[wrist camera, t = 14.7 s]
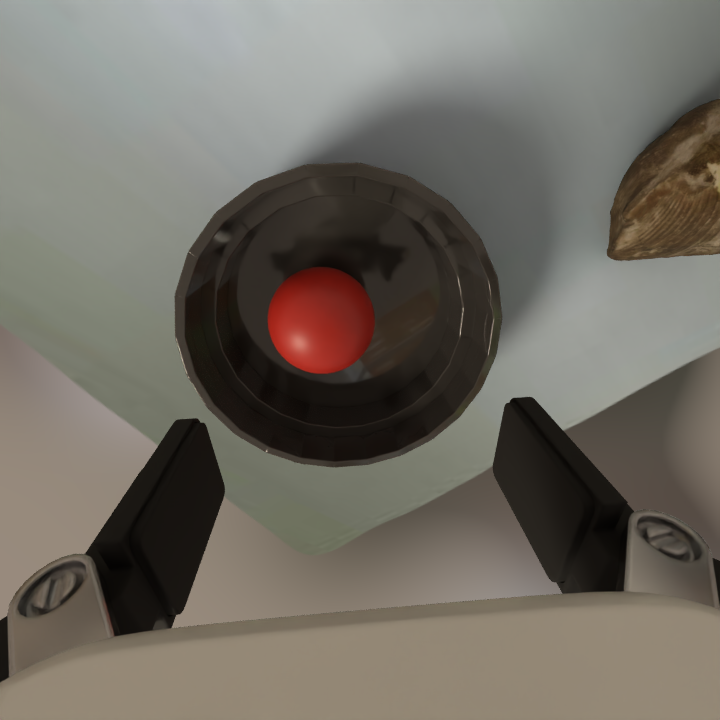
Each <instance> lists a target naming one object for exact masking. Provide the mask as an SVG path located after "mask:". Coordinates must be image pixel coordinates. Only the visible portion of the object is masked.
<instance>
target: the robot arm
mask: <svg viewBox="0 0 720 720" xmlns="http://www.w3.org/2000/svg"><path fill="white" fill-rule="evenodd" d="M493 473H494V476H495V478H496V480H497V482H498V484H499V486H500V488H501V490H502V492H503V493H504V495H505V497H506V499H507V501H508V503H509V505H510V506H511V508H512V510H513V512H514V514H515V516H516V518H517V520H518V522H519V523H520V525H521V527H522V529H523V531H524V533H525V534H526V537H527V538H528V540H529V542H530V544H531V546H532V548H533V550H534V552H535V553H536V555H537V557H538V559H539V561H540V563H541V564H542V567H543V568H544V570H545V572H546V574H547V576H548V577H549V579H550V580H551V581H552V582H557V584H558V586H559V588H560V590H561V592H562V593H563V594H553V595H538V596H524V597H512V598H499V599H487V600H475V601H463V602H450V603H438V604H428V605H427V604H426V605H415V606H403V607H391V608H381V609H369V610H357V611H346V612H335V613H323V614H312V615H301V616H291V617H279V618H269V619H258V620H247V621H237V622H226V623H216V624H206V625H197V626H188V627H179V628H172V625H173V622H174V619H175V617H176V615H178V614H181V613H182V611H183V610H184V607H185V605H186V602H187V599H188V596H189V594H190V591H191V588H192V585H193V582H194V580H195V577H196V574H197V571H198V568H199V565H200V563H201V560H202V557H203V554H204V551H205V549H206V546H207V543H208V540H209V537H210V534H211V532H212V529H213V526H214V523H215V520H216V517H217V515H218V512H219V509H220V506H221V503H222V501H223V498H224V493H225V486H224V482H223V479H222V476H221V473H220V469H219V466H218V463H217V460H216V456H215V453H214V450H213V447H212V443H211V440H210V437H209V434H208V430H207V427H206V425H205V423H200V421H199V420H198V419H196V418H195V419H180V420H176V421H175V422H174V423H173V425H172V426H171V428H170V429H169V431H168V432H167V434H166V435H165V437H164V438H163V440H162V441H161V443H160V444H159V446H158V447H157V449H156V450H155V452H154V453H153V455H152V456H151V458H150V459H149V461H148V462H147V464H146V465H145V467H144V468H143V469H142V470H141V472H140V473H139V474H138V476H137V477H136V479H135V480H134V482H133V483H132V485H131V486H130V488H129V489H128V491H127V492H126V494H125V495H124V497H123V498H122V500H121V501H120V503H119V504H118V506H117V507H116V509H115V510H114V512H113V513H112V515H111V516H110V518H109V519H108V520H107V522H106V523H105V525H104V527H103V528H102V529H101V531H100V532H99V534H98V535H97V537H96V538H95V540H94V542H93V543H92V544H91V546H90V547H89V549H88V550H87V552H86V553H85V554H72V555H68V556H65V557H61V558H59V559H57V560H55V561H53V562H51V563H49V564H47V565H46V566H44V567H43V568H41V569H40V570H38V571H37V572H36V573H34V574H33V575H32V576H31V577H30V578H29V579H28V580H26V582H25V583H24V584H23V585H22V586H21V587H20V588H19V590H18V591H17V592H16V593H15V595H14V597H13V599H12V600H11V602H10V604H9V609H8V614H7V616H6V617H5V618H3V619H2V620H0V720H720V561H719V560H716V559H714V558H712V554H711V551H710V549H709V546H708V545H707V544H706V542H705V541H704V539H703V538H702V537H701V536H700V535H699V534H698V533H697V532H696V531H695V530H693V529H692V528H691V527H689V526H688V525H687V524H685V523H684V522H682V521H680V520H679V519H677V518H675V517H672V516H670V515H668V514H665V513H662V512H659V511H655V510H646V509H644V510H638V511H635V512H634V511H633V510H632V509H631V508H630V506H629V505H628V504H627V501H626V500H625V499H624V498H623V497H622V496H621V494H620V493H619V492H618V491H617V490H616V489H615V488H614V487H613V486H612V485H611V483H610V482H609V481H608V480H607V479H606V478H605V477H604V476H603V475H602V473H601V472H600V471H599V470H598V469H597V468H596V467H595V466H594V465H593V463H592V462H591V461H590V460H589V459H588V458H587V457H586V456H585V455H584V454H583V453H582V451H581V450H580V449H579V448H578V447H577V446H576V445H575V444H574V443H573V441H572V440H571V439H570V438H569V437H568V436H567V435H566V434H565V432H564V431H563V430H562V429H561V428H560V427H559V426H558V425H557V424H556V422H555V421H554V420H553V419H552V418H551V417H550V416H549V415H548V414H547V412H546V411H545V410H544V409H543V408H542V407H541V406H540V405H539V404H538V403H537V401H536V400H535V399H534V398H532V397H522V398H512V399H511V400H510V403H506V405H505V407H504V412H503V417H502V422H501V427H500V432H499V437H498V442H497V447H496V452H495V457H494V462H493Z"/></svg>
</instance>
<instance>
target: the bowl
mask: <svg viewBox="0 0 720 720" xmlns="http://www.w3.org/2000/svg"><path fill="white" fill-rule="evenodd" d="M311 267H329V268H334V269H338V270H340V271H343V272H345V273H347V274H349V275H350V276H352V277H353V278H354V279H355V280H357V281H358V282H359V283H360V284H361V286H362V287H363V288H364V289H365V291H366V292H367V294H368V296H369V298H370V300H371V302H372V305H373V309H374V314H375V328H374V333H373V336H372V339H371V342H370V344H369V346H368V348H367V350H366V351H365V353H364V354H363V355H362V356H361V357H360V358H359V359H358V360H357V361H356V362H355V363H354V364H352V365H351V366H349V367H347V368H345V369H343V370H341V371H337V372H334V373H328V374H316V373H310V372H306V371H303V370H301V369H299V368H297V367H295V366H293V365H292V364H290V363H289V362H288V361H286V360H285V359H284V358H283V357H282V356H281V354H280V353H279V352H278V351H277V349H276V347H275V346H274V344H273V342H272V339H271V337H270V333H269V329H268V311H269V306H270V303H271V300H272V298H273V296H274V294H275V292H276V290H277V289H278V288H279V286H280V285H281V284H282V283H283V282H284V281H285V280H286V279H287V278H289V277H290V276H291V275H293V274H295V273H296V272H299V271H301V270H304V269H308V268H311ZM501 323H502V310H501V301H500V293H499V284H498V278H497V275H496V272H495V270H494V268H493V265H492V263H491V261H490V258H489V256H488V254H487V251H486V249H485V247H484V244H483V242H482V240H481V238H480V236H479V235H478V234H477V233H476V232H475V231H474V229H473V228H472V227H471V226H470V225H469V223H468V222H467V221H466V220H465V219H464V218H463V216H462V215H461V214H460V213H459V212H458V211H457V209H456V208H455V207H454V206H453V205H452V203H450V202H449V201H448V200H446V199H444V198H443V197H441V196H440V195H438V194H436V193H435V192H433V191H432V190H430V189H429V188H427V187H425V186H424V185H422V184H421V183H419V182H418V181H416V180H414V179H413V178H411V177H408V176H407V175H403V174H400V173H396V172H392V171H388V170H385V169H381V168H377V167H374V166H370V165H366V164H363V163H330V164H307V165H303V166H300V167H297V168H294V169H291V170H288V171H286V172H283V173H280V174H277V175H274V176H271V177H269V178H266V179H263V180H260V181H257V182H256V183H254V184H253V185H251V186H250V187H249V188H247V189H246V190H245V191H243V192H242V193H241V194H239V195H238V196H237V197H235V198H234V199H233V200H231V201H230V202H229V203H227V204H226V205H225V206H223V207H222V208H221V209H219V210H218V211H217V212H216V213H215V214H214V215H213V217H212V218H211V220H210V221H209V223H208V224H207V225H206V227H205V228H204V230H203V231H202V233H201V234H200V235H199V237H198V238H197V240H196V241H195V243H194V244H193V245H192V247H191V248H190V250H189V252H188V254H187V257H186V260H185V263H184V267H183V270H182V273H181V276H180V280H179V283H178V286H177V289H176V293H175V337H176V342H177V345H178V348H179V351H180V355H181V358H182V361H183V365H184V368H185V371H186V374H187V377H188V378H189V380H190V381H191V383H192V385H193V386H194V388H195V389H196V391H197V392H198V394H199V396H200V397H201V399H202V400H203V402H204V404H205V405H206V407H207V408H208V409H209V410H210V411H211V412H212V413H213V414H214V415H215V416H216V417H217V418H218V419H219V420H220V421H221V422H222V423H224V424H225V425H226V426H227V427H228V428H229V429H230V430H231V431H232V432H233V433H235V434H236V435H237V436H239V437H241V438H242V439H244V440H246V441H247V442H249V443H251V444H253V445H254V446H256V447H258V448H259V449H261V450H263V451H264V452H267V453H270V454H273V455H276V456H279V457H282V458H285V459H288V460H291V461H294V462H297V463H301V464H309V465H317V466H326V467H346V466H359V465H368V464H373V463H376V462H380V461H383V460H387V459H390V458H394V457H397V456H401V455H403V454H405V453H407V452H409V451H411V450H413V449H415V448H417V447H419V446H421V445H423V444H424V443H426V442H428V441H430V440H432V439H433V438H435V437H436V436H437V435H438V434H440V433H441V432H442V431H443V430H444V429H446V428H447V427H448V426H449V425H451V424H452V423H453V422H454V421H455V420H457V419H458V418H459V417H460V416H461V415H462V413H463V412H464V411H465V409H466V408H467V407H468V405H469V404H470V403H471V402H472V400H473V399H474V398H475V396H476V395H477V394H478V393H479V391H480V390H481V388H482V386H483V384H484V382H485V380H486V377H487V375H488V373H489V371H490V368H491V366H492V364H493V362H494V359H495V357H496V354H497V348H498V341H499V335H500V329H501Z"/></svg>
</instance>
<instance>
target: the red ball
mask: <svg viewBox="0 0 720 720" xmlns="http://www.w3.org/2000/svg"><path fill="white" fill-rule="evenodd" d="M374 328H375V314H374V309H373V305H372V302H371V300H370V298H369V296H368V294H367V292H366V291H365V289H364V288H363V287H362V286H361V284H360V283H359V282H358V281H357V280H355V279H354V278H353V277H352V276H350V275H349V274H347V273H345V272H343V271H340V270H338V269H334V268H329V267H311V268H308V269H304V270H301V271H299V272H296V273H295V274H293V275H291V276H290V277H289V278H287V279H286V280H285V281H284V282H283V283H282V284H281V285H280V286H279V288H278V289H277V290H276V292H275V294H274V296H273V298H272V300H271V303H270V306H269V311H268V329H269V333H270V337H271V339H272V342H273V344H274V346H275V347H276V349H277V351H278V352H279V353H280V354H281V356H282V357H283V358H284V359H285V360H286V361H288V362H289V363H290V364H292V365H293V366H295V367H297V368H299V369H301V370H303V371H306V372H310V373H316V374H328V373H334V372H337V371H341V370H343V369H345V368H347V367H349V366H351V365H352V364H354V363H355V362H356V361H357V360H358V359H359V358H360V357H361V356H362V355H363V354H364V353H365V351H366V350H367V348H368V346H369V344H370V342H371V339H372V336H373V333H374Z"/></svg>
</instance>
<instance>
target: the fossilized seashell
mask: <svg viewBox="0 0 720 720" xmlns="http://www.w3.org/2000/svg"><path fill="white" fill-rule="evenodd" d="M610 215H611V225H610V236H609V246H608V249H607V256H608V257H610V258H611V259H614V260H620V261H622V260H628V261H630V260H640V259H653V258H661V257H662V258H669V257H676V256H693V255H713V254H720V99H717V100H714V101H711V102H708V103H706V104H703V105H701V106H699V107H697V108H695V109H693V110H691V111H690V112H688V113H686V114H685V115H683V116H682V117H681V118H680V119H679V120H678V121H677V122H676V123H675V124H674V125H673V126H672V127H671V128H670V129H669V131H667V132H666V133H664V134H663V135H661V136H660V137H658V138H657V139H656V140H655V141H654V142H652V143H651V144H650V145H649V146H648V147H647V148H646V149H645V150H644V151H643V152H642V153H641V154H640V155H639V156H638V157H637V158H636V159H635V161H634V162H633V163H632V165H631V166H630V168H629V169H628V171H627V172H626V174H625V175H624V177H623V179H622V181H621V184H620V186H619V189H618V191H617V194H616V196H615V199H614V204H613V207H612V209H611V211H610Z"/></svg>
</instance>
